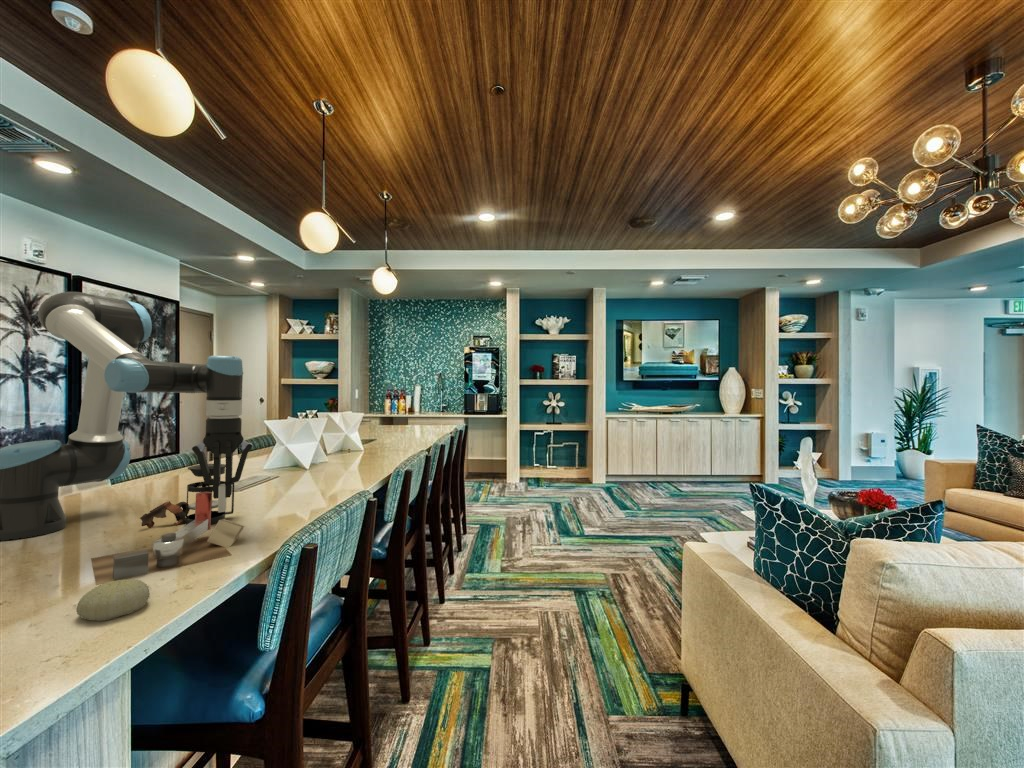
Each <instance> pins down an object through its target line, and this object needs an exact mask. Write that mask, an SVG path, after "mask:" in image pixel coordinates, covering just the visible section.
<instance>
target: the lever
mask: <svg viewBox="0 0 1024 768" xmlns="http://www.w3.org/2000/svg"><path fill="white" fill-rule="evenodd" d="M211 499H212V500H213V491H212V492H195V503H196V506H195V510H194V513H195V520H193V521H192V522H190V523H189V524H187V525H186V524H185V526H183V527H181V528H179V529H178V530H176V531H175V532H174V533H176V539H175V540H172V541H161V538H159V539H156V540H154V541H153V543H152V547H153V559H168V558H173V557H176V556H179V555H181V554H182V553H183V547H185V546H186V545H187V544H189V543H190V542H191V541H193V540H194V539H198V537H199V536H201V535H202V534H204V533H205V532H207V531H209V530H211V526H212V525H211Z"/></svg>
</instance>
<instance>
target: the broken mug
mask: <svg viewBox="0 0 1024 768" xmlns="http://www.w3.org/2000/svg"><path fill="white" fill-rule="evenodd" d="M186 505H187V501H186V502H185V501H180V502H178V503H176V504H173V503H171V501H166V502H164V503H162V504H160V505H158V506H156V507H155V508H153V509H151V510H150V511H149V513H144V514H143V515H141V517H140V518H139V519H140V521H141V527H148V528H149V529H152V528H153V527H154V526H155V522H154V518H156V519H163V518H167V515H166V514H167V513H166V512H167V511H169V512H170V513H171V514H173V515H174V517H175V520H176V522H175V523H174V526H175V527H177V526H183V525H186ZM188 505H190V504H189V503H188ZM190 510H191V509H188V514H189V512H190ZM151 527H152V528H151Z"/></svg>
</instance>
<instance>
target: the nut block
mask: <svg viewBox="0 0 1024 768" xmlns="http://www.w3.org/2000/svg"><path fill="white" fill-rule="evenodd" d="M244 528H245V525H243V524H240V523H237V522H234V521H232V520H230V519H226V518H225V519H222V520H219V521H218V523H217V524H215V527H214V528H213V530H212V532H211V534H210V535H209V536H210V537H209V536H208V537H209V539H208V540H207V542H210V543H213V544H216V545H220V546H223V547H225V548H228V547H231V546H233V544H235V543H236V541H237V540H238V538H240V535H241V534H242V532H243V530H244Z"/></svg>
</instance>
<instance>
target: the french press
mask: <svg viewBox="0 0 1024 768" xmlns="http://www.w3.org/2000/svg"><path fill="white" fill-rule="evenodd" d="M205 451H206V452H207V456H206V460H207V463H208V467H209V471H210V474H211V477H213V466H214V463H210V453H211V451H210V450H209V449H208V448H207V447H206V446H205ZM187 470H189V471H190V473H192V474H193V475H194V476H195V477H199V478H200V477H201V478H203V475H202V472H201V468H200V465H199V464H197V465H190V466H188V467H187ZM225 470H226V463H221V475H225ZM220 481H221V482H220V484H225V480H220ZM189 492H190V493H200V492H212V493H213V485H211V484H205V482H204V481H197V482H193V483H189V484H187V486H186V503H187V505H186V524H185V526H186V525H187V524H189V523H190V522H192V521H193V520H195V512H194V513H191V514H189V513H188V509H190V510H191V511H193V510H194V511H195V506H196V502H193V503H190V504H189ZM188 504H189V505H188ZM234 507H235V483H233V484H232V494H231V511H225V512H218V510H213V509H216V508H217V509H218V499H215V500H213V498H212V499H211V526H213V525H217V523H218V521H219V520H222V519H226V515H233V514H234V509H235V508H234Z"/></svg>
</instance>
